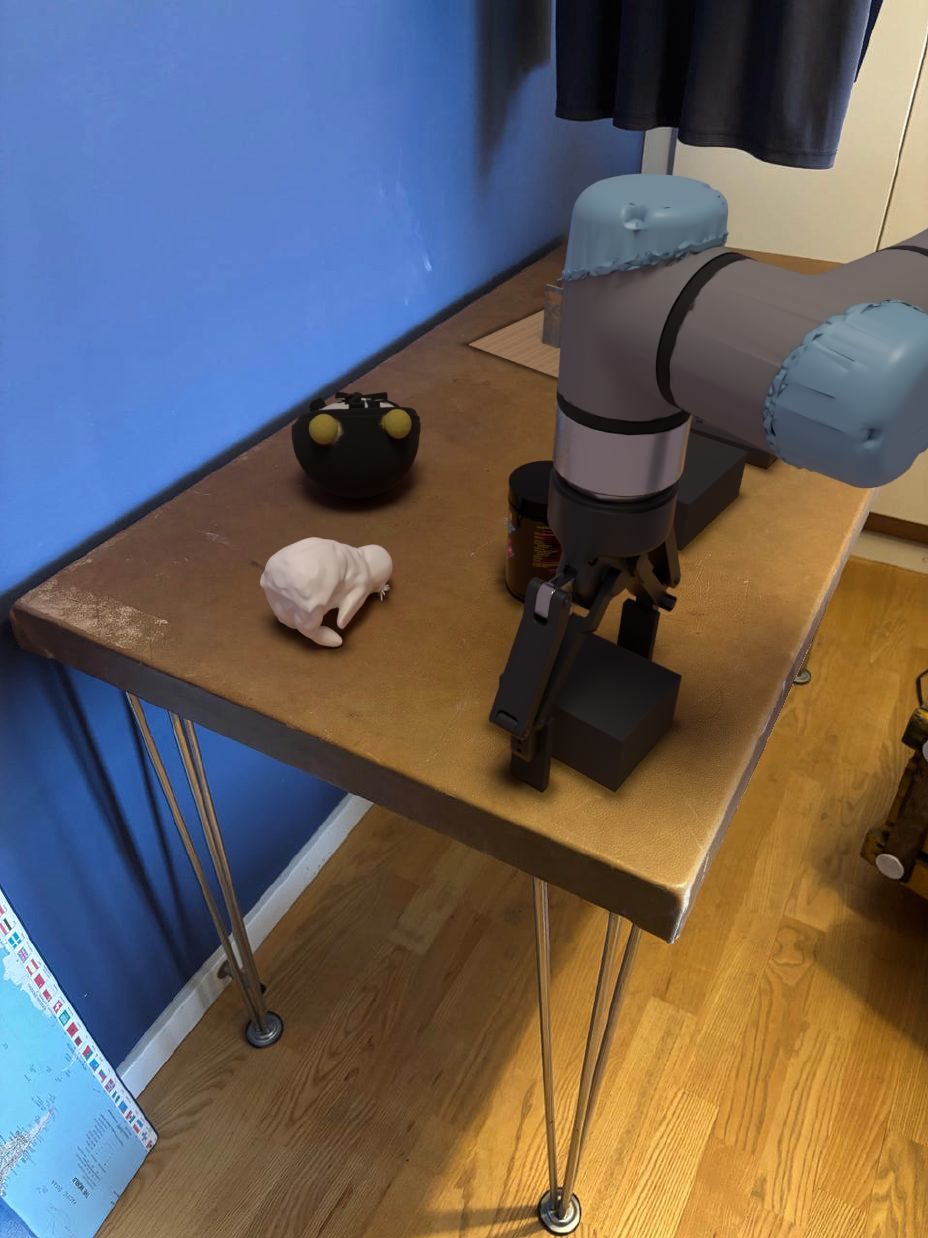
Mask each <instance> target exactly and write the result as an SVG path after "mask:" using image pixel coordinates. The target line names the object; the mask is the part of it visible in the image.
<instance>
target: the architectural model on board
mask: <svg viewBox="0 0 928 1238" xmlns="http://www.w3.org/2000/svg"><path fill="white" fill-rule="evenodd" d="M555 282H556V283H555V285H552V284H548V283H545V288H544V290H545V291H544V304H543V306H544V308H543V309H542V310H540V311H538V312H536V313H534V314H532V315H530V316H527V317H525V318H523V319H521V320H519V321H515V322H514V323H512V324H510V325H507V326H506V327H503V328H501V329H498V330H497V331H494V332H492V333H491V334H488V335H485V336H483V337H482V338H479V339H477V340H474V341H473V342H470V343H469V344H467V345H468V346H470V347H474V348H476V349H479V350H482V351H484V352H486V353H490V354H492V355H495V356H497V357H499V358H502V359H506V360H509V361H511V362H514V363H517V364H518V365H522V366H524V367H527V368H530V369H533V370H536V371H538V372H541V373H544V374H546V375H549V376H552V377H554V378H557V379H558V375H559V359H560V343H561V328H562V305H563V280H562V277H560V278H558V279H556V281H555Z"/></svg>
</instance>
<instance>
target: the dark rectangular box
mask: <svg viewBox="0 0 928 1238" xmlns="http://www.w3.org/2000/svg"><path fill="white" fill-rule="evenodd" d="M747 455H748V451H745V450H742V449H739V448H736V447H733V446H730V445H727V444H724V443H721V442H718V441H715V440H712V439H709V438H706V437H703V436H700V435H697V434H694V433H691V432H689V437H688V443H687V449H686V455H685V461H684V467H683V472H682V474H681V476H680V478H679V479H678V481H679V489H678V495H677V500H676V507H675V515H674V523H673V525H674V531H675V538H676V545H677V550H678V551H682V550H683V549H684V548H685V547H686V546H687V545H688V544H689V543H690V542H691V541H692V540H694V538H695V537H696V536H698V535H699V534H700V533H701V532H702V531H703V530H704V529H705V528H706V527H707V526H708V525H709V524H710V523H711V522H712V521H713V520H714V519H715V518H716V517H717V516H719V514H721V513H722V512H723V511H724V510H726V508H727V507H729V505H730V504H731V503H732V502H734V500H736V499H737V498H738V496H739V495H740V490H741V486H742V482H743V477H744V472H745V469H746V463H747V462H746V459H747Z"/></svg>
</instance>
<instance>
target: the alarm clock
mask: <svg viewBox="0 0 928 1238" xmlns="http://www.w3.org/2000/svg"><path fill="white" fill-rule="evenodd" d="M334 399H335V400H337V402H333V403H331V404H329V405H327V404H326V403H327V402H325V400H324V399H323V397H318V398H316V399H314V400H313V401H311V402H310V403H309V406H308V408H309V411H307V412H304V413H301V414H300V415H299V416H298V417H297V419H296V421H295V422H294V423H293V424H292V425H291V443H292V447H293V448H292V449H293V451H294V455H295V457H296V460H297V462H298V464H299V466H300V468H301V469H302V470H303V472H304V473H305V474H306V476H307V477H308V478H309V479H310V480H311V481H312V482H313V483H314V484H315V485H317V487H319V488H321V489H323V490H324V491H326V492H327V493H329V494H332V495H334V496H336V497H337V496H338V497H340V498H341V497H342V498H347V499H357V500H358V499H368V498H372V497H375V496H377V495H381V494H384V493H385V492H388V491H389V490H390V489H392V488H394V487H395V486H396V485H397V484H399V483H400V482H401V481H403V479H404V478H405V476H406V475H407V474H408V472H409V470H410V469H411V468H412V466H413V464H414V462H415V460H416V457H417V454H418V451H419V447H420V446H419V445H420V436H421V430H422V429H421V428H422V427H421V426H422V425H421V417H420V415H418V413H417V410H416V409H415V408H412V407H408V406H400V405H399V404H397V403H395V402H393V401H391V400H389V397H388V392H387V391H384V392H383V391H382V392H375V393H374V392H373V393H367V394H362V392H360V391H354V392H352V393H348V392H345V391H344V392H343V391H342V392H341V391H336V393H335V394H334ZM338 400H339V401H338Z"/></svg>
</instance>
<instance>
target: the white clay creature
mask: <svg viewBox="0 0 928 1238" xmlns="http://www.w3.org/2000/svg"><path fill="white" fill-rule="evenodd" d="M393 567H394V565H393V560H392V557H391V555H390V554H389V552H388V551H387V549H385V548H384V547H383V546H381V545H379V544H368V545H362V546H359V547H354V546H351V545H349V544H347V543H341V542H339V541H337V540H335V539H328V538H327V539H326V538H322V537H317V536H316V537H315V536H312V537H308V538H304V539H301V540H299V541H296V542H294V543H291V544H289V545H286V546H285V547H283V548H281V549H280V550H278V551H277V552H275V553H274V554H273V555H271V557H269V558H268V560H267V562H266V564H265V568H264V570H263V572H262V574H261V576H260V580H259V586H260V587H261V589H262V590H263V592H264V593H265V597H266V599H267V602H268V604H269V606H270V608H271V610H272V611H273V614H274V616H275V617H276V618H277V620H278V621H279V622H280V623H282V624H284V625H285V626H287V627H288V628H290V629H295V630H298V631H299V632H300V633H301V634H302V635H303V636H305V637H306V638H309V639H310V640H312V641H313V642H315V643H316V644H318V645H321V646H325V647H332V648H335V647H336V648H337V647H339V646H341V645H342V644H343V638H342V637H341V636H340V635H339V633H337V632H336V631H334V630H333V629H332V628H331V627H328V626H325V625H322V622H323V619H324V616H325V615H326V614H327V613H328V612H329V611H330V610H331V609H333V610H334V609H336V608H337V609H338V614H337V618H336V626H337V627H338V628H339V629H341V630H344V629H345V628H346V626H347V625H348V624H349V623H350V621H351V620H352V619H353V617H355V614H357V612H358V611H359V610H360V608H361V607H362V606H363V605H364V604H365V602H366V599H367V598H368V596H369V595H371V594H373V593H378V595H377V596H379V595H380V600H381V601H383V595H384V596H385V595H386V594H385V592H387V591H388V592H389V590H391V588H390V587H389V586H390V585H389V584H387V583H388V581H389V580H390V578H391V576H392V574H393Z"/></svg>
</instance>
